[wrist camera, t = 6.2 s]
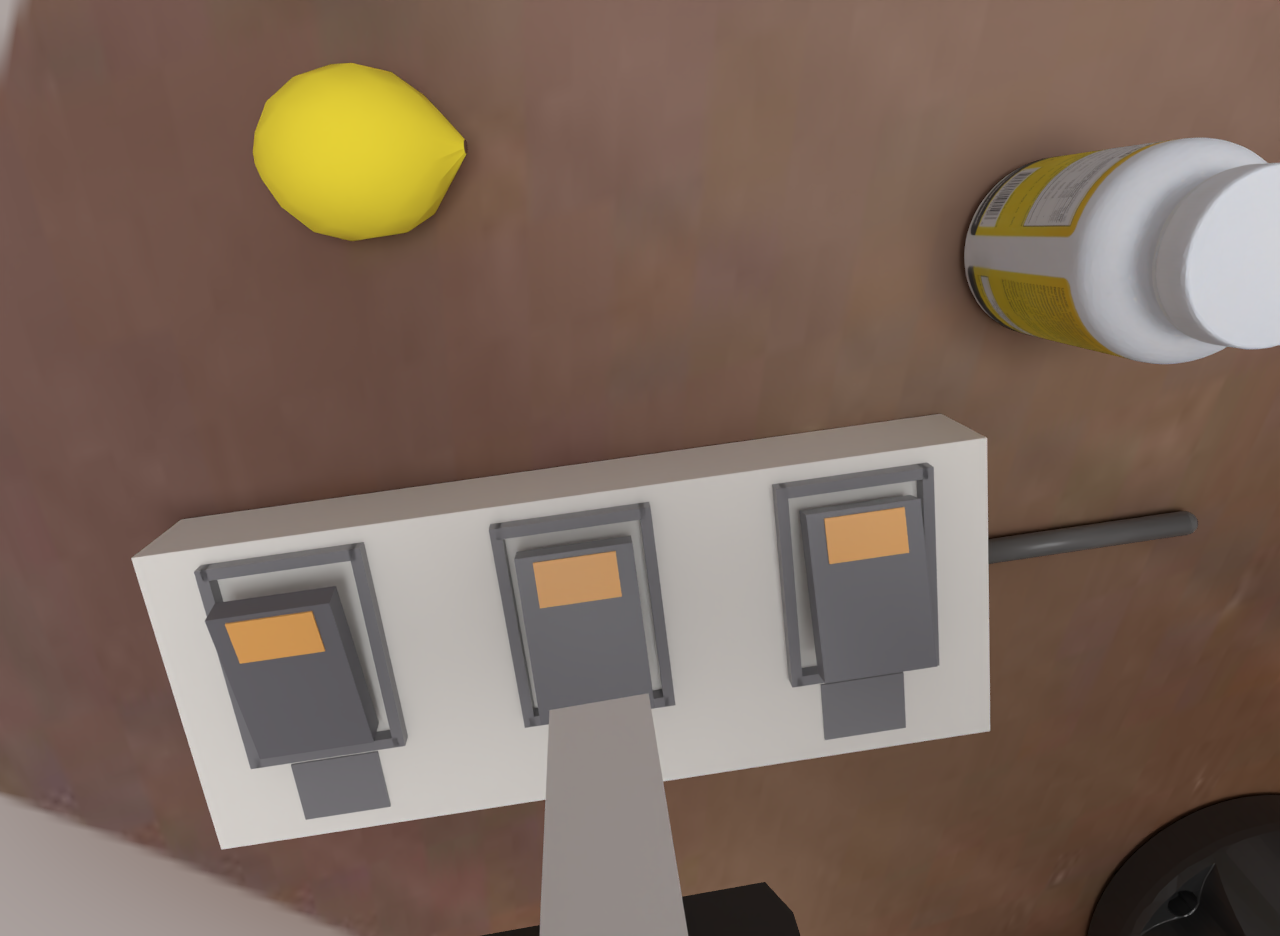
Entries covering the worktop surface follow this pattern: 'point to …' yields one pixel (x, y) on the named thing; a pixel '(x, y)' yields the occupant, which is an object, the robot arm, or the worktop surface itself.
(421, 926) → the worktop surface
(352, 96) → the lemon
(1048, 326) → the pill bottle
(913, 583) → the rocker
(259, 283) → the worktop surface
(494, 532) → the rocker switch box
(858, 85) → the worktop surface
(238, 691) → the rocker
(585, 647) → the dark grey flat block
